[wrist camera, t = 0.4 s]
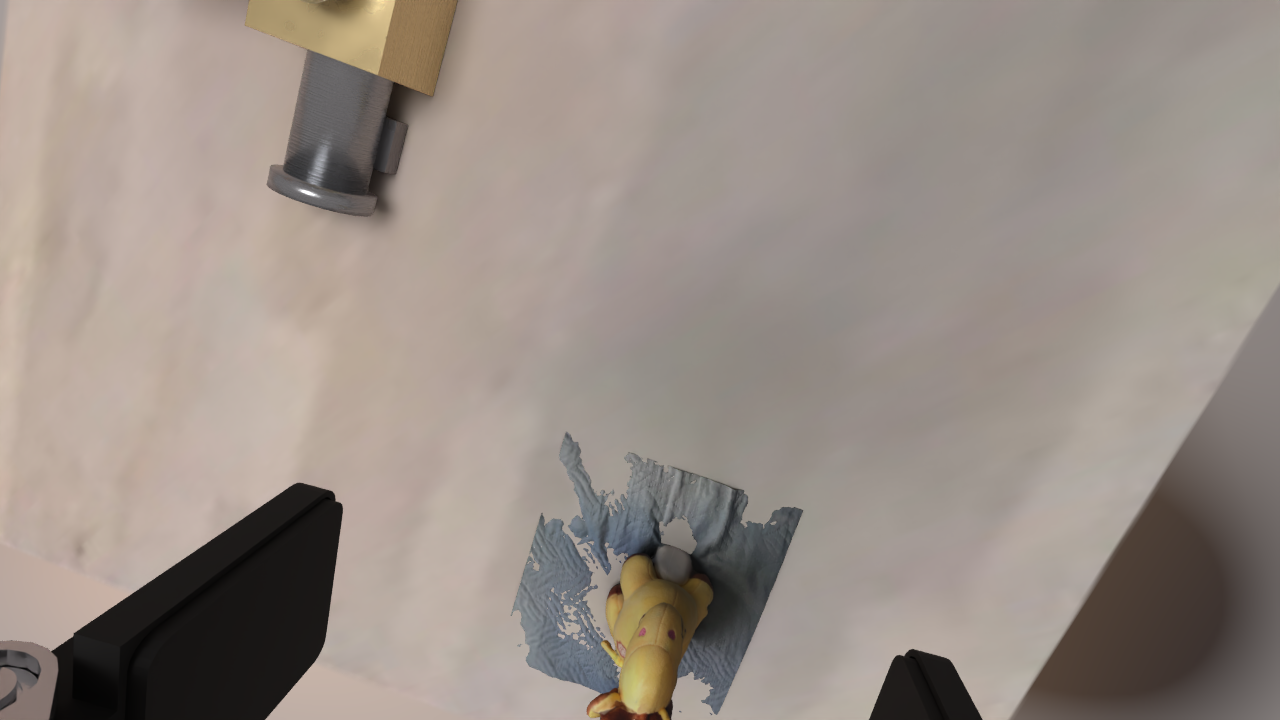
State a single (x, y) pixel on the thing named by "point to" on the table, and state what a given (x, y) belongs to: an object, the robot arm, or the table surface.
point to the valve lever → (314, 1)
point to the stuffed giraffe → (652, 588)
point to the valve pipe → (351, 90)
